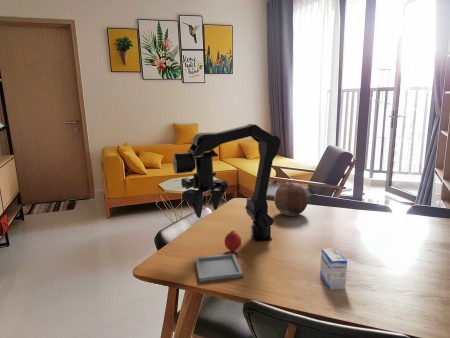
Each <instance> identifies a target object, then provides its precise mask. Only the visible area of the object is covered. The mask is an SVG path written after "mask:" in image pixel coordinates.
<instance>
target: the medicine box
mask: <svg viewBox="0 0 450 338" xmlns="http://www.w3.org/2000/svg"><path fill="white" fill-rule="evenodd" d="M320 254H321V256H320V270H319V276H320V277H321V278H322V280H323V282H325V284H326V286H327V287H328V288H329V289H330V291H333V290H345V289H346V287H347V286H346V284H347V272H348V271H347V269H348V260H347V259H346V258H345V257H344V256H343V255H342V254H341V253H340V252H339V251H338V250H337V248H329V247H327V248H322V249H321V253H320Z"/></svg>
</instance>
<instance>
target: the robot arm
mask: <svg viewBox="0 0 450 338" xmlns="http://www.w3.org/2000/svg"><path fill="white" fill-rule="evenodd" d="M249 137H250V138H252V139H253V140H254V141H255V142H257V145H258V146H257V148H258V149H257V150H258V154H259V163H258V168H257V173H256V177H255V178H256V179H255V184H254V185H255V186H254V190H253V194H252V196H251V198H247V199H246V205H245V207H244V209H246V210H245V212H246V214H247V216H249V217H250V220H252V225H251V226H250V227H251V229H250V231H251V232H250V235H251V238H253V240H254V241H255V242H261V241H262V242H264V241H272V240H273V238H272V236H271V232H272V231H271V230H272V229H271V228H272V227H271V226H273V224H274V221H275V219H273V217H272V216H270V215H269V213H268V212H269V205H268V201H267V194H268V190H269V184H270V179H271V172H272V168H273V161H274V160H275V158H276V157H277V155H278V153H279V152H280V148H281V145H282V141H281V139H280V137H279V136H278V135H275V134H271V133H270V132H268V131H266V130H264V129H262V128H261V127H260V126H258V125H257V124H253V123H249V124H246V125H243V126H238V127H235V128H229V129H226V130H222V131H217V132H215V131H214V132H199V133H196V134H195V135H194V137H192V143H191V145H190V147H189V148H188V150H187V152H175V153H173V160H172V161H173V162H172V167H173V168H172V169H173V171H174V174H175V175H179V174H187V173H193V172H194V170H195V169H196V171H195V173H194V174H193V177H192V178H190V179H189V177H184V178H181V180H180V181H181V186H182V188H183V189H184V188H185V190H184V191H183V192H182V193H181V200H182V201H185V202H186V203H189V204H190V205H191V208H192V209H193V211H194V213H195V215H196V217H197V219H201V218H202V217H201V216H202V211H203V205H204V199H203V197H204V196H203V195H204V194H206V193H208V192H209V193H210V194H211V201H212V207H213V210H215V211H216V210H218V207H219V205H220V203H221V201H222V198H223V196H224V194H225V192H227V191H226V190H227V189H228V188H229V186H228V185H229V184H228V182H227V181H226V180H223V179H214V178H215V176H217V172H216V171H215V172H214V167H213V166H214V164H213V158H214V157H215V158H217V157H219V154H218V153H217V152H216V151H215V150H214V149H216V148H218V147H220V146H221V145H223V144H226V143H231V142H234V141H237V140H242V139H245V138H249ZM192 188H193V189H192Z"/></svg>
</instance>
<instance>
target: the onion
mask: <svg viewBox="0 0 450 338" xmlns="http://www.w3.org/2000/svg"><path fill="white" fill-rule="evenodd" d="M223 242H224V246H225V247H226V249H227V250H229V251H231V252H233V253H234V252H235V251H236V250H238V249H239V248H240V247H241V246H242V238H241V237H240V235H239V234H238V233H237V232H236V231H235V229H231V231H230V232H229V233H227V234H226V236H225V238H224V241H223Z"/></svg>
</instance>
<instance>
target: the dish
mask: <svg viewBox="0 0 450 338" xmlns="http://www.w3.org/2000/svg"><path fill="white" fill-rule="evenodd" d="M195 265H196V266H195V267H196V270H197V271H196V272H197V275H198V282H199V283H200V284H202V283H210V282H218V281H229V280H235V279H244V272H243V270H242V268H241V265H240V263H239V261H238V259H237V256H236V255H235V253H234V252H233V253H225V254H217V255H207V256H196V257H195Z"/></svg>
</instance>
